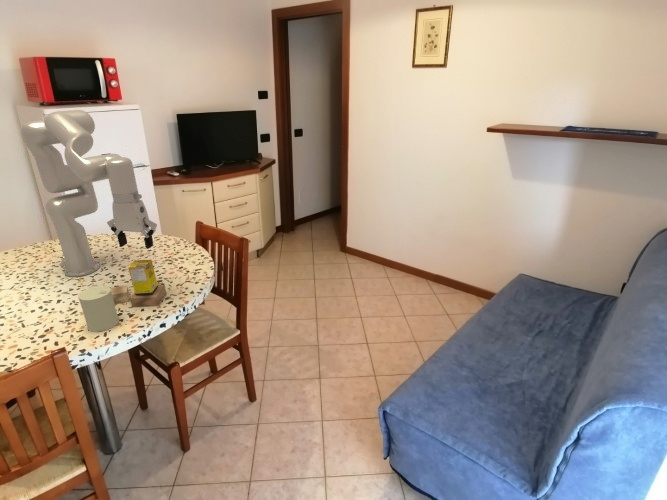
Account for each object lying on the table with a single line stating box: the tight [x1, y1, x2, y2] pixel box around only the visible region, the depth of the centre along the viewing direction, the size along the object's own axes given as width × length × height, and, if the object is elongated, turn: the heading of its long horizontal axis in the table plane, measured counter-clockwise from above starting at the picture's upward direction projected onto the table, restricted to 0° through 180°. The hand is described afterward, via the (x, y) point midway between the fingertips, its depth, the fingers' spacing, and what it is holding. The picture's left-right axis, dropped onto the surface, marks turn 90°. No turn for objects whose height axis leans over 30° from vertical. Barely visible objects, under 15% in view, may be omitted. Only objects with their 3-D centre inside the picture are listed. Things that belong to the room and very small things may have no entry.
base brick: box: [129, 284, 167, 308], centre depth 145 cm, size 9×9×4 cm
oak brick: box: [110, 284, 130, 305], centre depth 146 cm, size 6×6×4 cm
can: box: [77, 285, 120, 333], centre depth 130 cm, size 9×9×12 cm
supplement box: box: [127, 258, 159, 295], centre depth 142 cm, size 6×6×11 cm
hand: (136, 246), depth 137 cm, fingers open, 9 cm apart
